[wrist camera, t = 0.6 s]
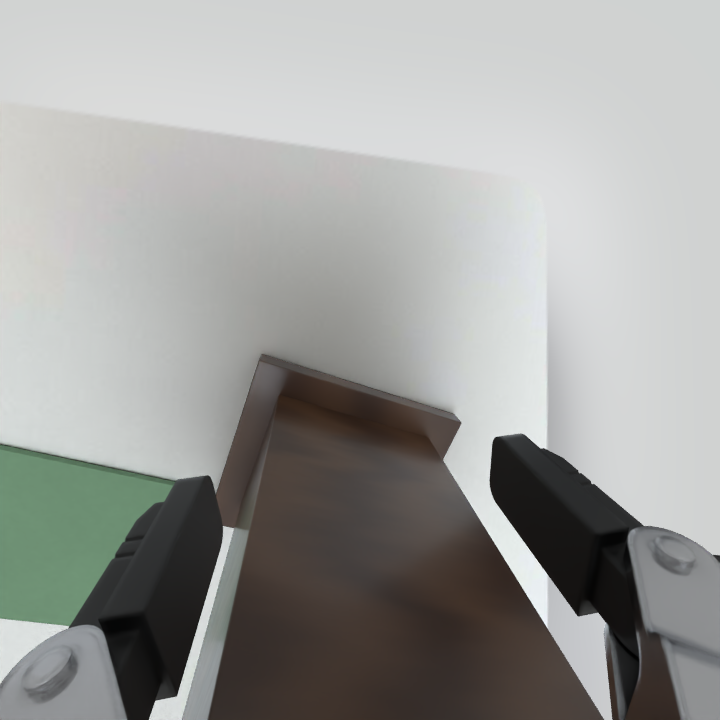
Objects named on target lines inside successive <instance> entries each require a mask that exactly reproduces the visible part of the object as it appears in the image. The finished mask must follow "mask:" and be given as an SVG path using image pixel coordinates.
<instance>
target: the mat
mask: <svg viewBox="0 0 720 720" xmlns="http://www.w3.org/2000/svg"><path fill="white" fill-rule="evenodd" d="M174 483H175V482H174V481H170V480H165V479H160V478H155V477H151V476H146V475H141V474H136V473H132V472H127V471H122V470H118V469H113V468H108V467H103V466H99V465H94V464H89V463H85V462H80V461H75V460H70V459H66V458H61V457H56V456H51V455H47V454H42V453H37V452H33V451H28V450H23V449H18V448H14V447H9V446H4V445H0V618H2V619H11V620H20V621H29V622H38V623H47V624H56V625H65V626H70V625H71V623H72V622H73V620H74V619H75V617H76V615H77V614H78V612H79V611H80V609H81V607H82V606H83V604H84V603H85V601H86V600H87V598H88V596H89V595H90V593H91V592H92V590H93V588H94V587H95V585H96V584H97V582H98V581H99V579H100V577H101V576H102V574H103V573H104V571H105V569H106V568H107V566H108V565H109V563H110V561H111V560H112V559H114V558H115V554H116V552H117V550H118V549H119V547H120V546H121V544H122V542H125V538H126V536H127V534H128V533H129V531H130V530H131V528H132V527H133V525H134V523H135V522H136V520H137V519H138V518H139V517H140V516H141V515H143V514H144V513H145V512H146V511H147V510H148V509H149V508H150V507H151V506H152V505H154V504H155V503H158V502H164V501H165V499H166V498H167V496H168V494H169V492H170V490H171V489H172V487H173V485H174Z"/></svg>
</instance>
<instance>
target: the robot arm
mask: <svg viewBox="0 0 720 720" xmlns="http://www.w3.org/2000/svg"><path fill="white" fill-rule="evenodd" d="M490 488H491V492H492V495H493V498H494V500H495V502H496V503H497V505H498V506H499V508H500V509H501V510H502V512H503V513H504V515H505V516H506V517H507V519H508V520H509V522H510V523H511V524H512V526H513V527H514V528H515V530H516V531H517V533H518V534H519V535H520V537H521V538H522V540H523V541H524V542H525V544H526V545H527V546H528V548H529V549H530V551H531V552H532V553H533V555H534V556H535V558H536V559H537V560H538V562H539V563H540V564H541V566H542V567H543V569H544V570H545V571H546V573H547V574H548V576H549V577H550V578H551V580H552V581H553V582H554V584H555V585H556V586H557V588H558V589H559V591H560V592H561V594H562V595H563V596H564V598H565V599H566V600H567V602H568V603H569V604H570V606H571V607H572V609H573V610H574V611H575V613H576V614H577V616H583V615H588V614H593V613H599V614H600V615H601V617H602V618H603V619H604V620H605V622H606V624H605V628H604V639H605V649H606V659H607V669H608V679H609V689H610V699H611V709H612V719H613V720H720V556H719V555H712V554H711V553H710V552H708V551H707V550H706V549H705V548H703V547H702V546H700V545H699V544H697V543H696V542H694V541H692V540H691V539H689V538H687V537H685V536H683V535H681V534H678V533H676V532H673V531H670V530H667V529H664V528H659V527H652V526H643V525H642V524H641V523H640V522H639V521H637V520H636V519H635V518H634V517H633V516H631V515H630V514H629V513H628V512H627V511H625V510H624V509H623V508H622V507H621V506H620V505H618V504H617V503H616V502H615V501H613V500H612V499H611V498H610V497H609V496H608V495H606V494H605V493H604V492H603V491H602V490H600V489H599V488H598V487H597V486H596V485H595V484H591V481H590V480H589V479H587V478H586V477H585V476H584V475H583V474H581V473H579V472H578V470H577V469H576V468H574V467H573V466H572V465H571V464H570V463H568V462H567V461H566V460H565V459H564V458H562V457H560V456H558V455H556V454H554V453H552V452H550V451H548V450H546V449H544V448H543V449H540V448H539V447H538V446H537V445H536V444H534V443H533V442H532V441H531V440H530V439H529V438H528V437H527V436H525V435H524V434H514V435H507V436H500V437H495V438H494V440H493V444H492V457H491V470H490ZM222 537H223V524H222V518H221V514H220V510H219V506H218V502H217V498H216V494H215V490H214V486H213V482H212V480H211V478H210V476H200V477H193V478H186V479H179V480H177V481H176V482H175V483H174V485H173V487H172V489H171V490H170V492H169V494H168V496H167V498H166V499H165V501H164V502H158V503H155V504H154V505H152V506H151V507H150V508H149V509H148V510H147V511H146V512H145V513H144V514H143V515H141V516H140V517H139V518H138V519H137V520H136V522H135V523H134V525H133V527H132V528H131V530H130V531H129V533H128V534H127V536H126V538H125V542H122V544H121V546H120V547H119V549H118V550H117V552H116V554H115V558H114V559H112V560H111V561H110V563H109V565H108V566H107V568H106V569H105V571H104V573H103V574H102V576H101V577H100V579H99V581H98V582H97V584H96V585H95V587H94V588H93V590H92V592H91V593H90V595H89V596H88V598H87V600H86V601H85V603H84V604H83V606H82V607H81V609H80V611H79V612H78V614H77V615H76V617H75V619H74V620H73V622H72V623H71V625H70V626H69V628H68V629H66V630H64V631H62V632H60V633H57V634H56V635H54V636H52V637H50V638H49V639H47V640H45V641H44V642H42V643H41V644H40V645H38V646H37V647H36V648H34V649H33V650H32V651H30V652H29V653H28V654H27V655H26V656H25V657H24V658H23V659H21V660H20V661H19V662H18V663H17V665H16V666H15V667H14V668H13V669H12V670H11V671H10V672H9V674H8V675H7V676H6V677H5V678H4V680H3V681H2V683H1V684H0V720H149V717H150V714H151V711H152V708H153V705H154V702H155V701H156V700H161V699H166V698H171V697H175V696H177V694H178V691H179V687H180V684H181V680H182V677H183V674H184V670H185V667H186V663H187V660H188V657H189V653H190V650H191V646H192V643H193V640H194V636H195V633H196V630H197V626H198V623H199V619H200V616H201V613H202V609H203V606H204V602H205V599H206V596H207V592H208V589H209V585H210V582H211V579H212V575H213V572H214V568H215V565H216V562H217V558H218V555H219V552H220V548H221V544H222Z"/></svg>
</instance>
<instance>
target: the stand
mask: <svg viewBox="0 0 720 720" xmlns="http://www.w3.org/2000/svg"><path fill="white" fill-rule="evenodd" d="M460 425H461V422H460V420H459V419H458V418H457V417H456V416H455V415H454V414H452V413H449V412H446V411H443V410H439V409H436V408H433V407H430V406H427V405H423V404H420V403H417V402H414V401H411V400H407V399H404V398H401V397H398V396H395V395H391V394H388V393H385V392H382V391H379V390H375V389H372V388H369V387H366V386H363V385H360V384H356V383H353V382H350V381H347V380H344V379H340V378H337V377H334V376H331V375H328V374H324V373H321V372H318V371H315V370H312V369H308V368H305V367H302V366H299V365H296V364H293V363H289V362H286V361H283V360H280V359H277V358H273V357H270V356H267V355H264V354H262V355H261V357H260V359H259V362H258V365H257V368H256V371H255V374H254V377H253V380H252V383H251V387H250V390H249V393H248V396H247V399H246V402H245V405H244V408H243V412H242V415H241V418H240V421H239V424H238V427H237V430H236V433H235V437H234V440H233V443H232V446H231V449H230V452H229V455H228V459H227V462H226V465H225V468H224V471H223V474H222V477H221V480H220V484H219V487H218V490H217V493H216V498H217V502H218V506H219V510H220V514H221V518H222V524H223V526H226V527H231V528H234V531H233V535H232V539H231V542H230V546H229V550H228V553H227V557H226V561H225V564H224V568H223V572H222V575H221V579H220V582H219V586H218V590H217V593H216V597H215V601H214V604H213V608H212V612H211V615H210V619H209V623H208V626H207V630H206V633H205V637H204V641H203V644H202V648H201V652H200V655H199V659H198V663H197V666H196V670H195V673H194V677H193V681H192V684H191V688H190V692H189V695H188V699H187V703H186V706H185V710H184V714H183V717H182V720H604V719H603V717H602V716H601V714H600V712H599V711H598V709H597V708H596V706H595V704H594V703H593V701H592V700H591V698H590V696H589V695H588V693H587V692H586V690H585V688H584V687H583V685H582V683H581V682H580V680H579V679H578V677H577V675H576V674H575V672H574V671H573V669H572V667H571V666H570V664H569V662H568V661H567V659H566V658H565V656H564V654H563V653H562V651H561V650H560V648H559V646H558V645H557V643H556V642H555V640H554V638H553V637H552V635H551V634H550V632H549V630H548V629H547V627H546V626H545V624H544V622H543V621H542V619H541V617H540V616H539V614H538V613H537V611H536V609H535V608H534V606H533V605H532V603H531V601H530V600H529V598H528V597H527V595H526V593H525V592H524V590H523V589H522V587H521V585H520V584H519V582H518V580H517V579H516V577H515V576H514V574H513V572H512V571H511V569H510V568H509V566H508V564H507V563H506V561H505V560H504V558H503V556H502V555H501V553H500V552H499V550H498V548H497V547H496V545H495V544H494V542H493V540H492V539H491V537H490V535H489V534H488V532H487V531H486V529H485V527H484V526H483V524H482V523H481V521H480V519H479V518H478V516H477V515H476V513H475V511H474V510H473V508H472V507H471V505H470V503H469V502H468V500H467V499H466V497H465V495H464V494H463V492H462V490H461V489H460V487H459V486H458V484H457V482H456V481H455V479H454V478H453V476H452V474H451V473H450V471H449V470H448V468H447V466H446V465H445V463H444V462H443V458H444V456H445V454H446V453H447V451H448V449H449V447H450V445H451V443H452V441H453V439H454V437H455V435H456V433H457V431H458V429H459V427H460Z"/></svg>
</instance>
